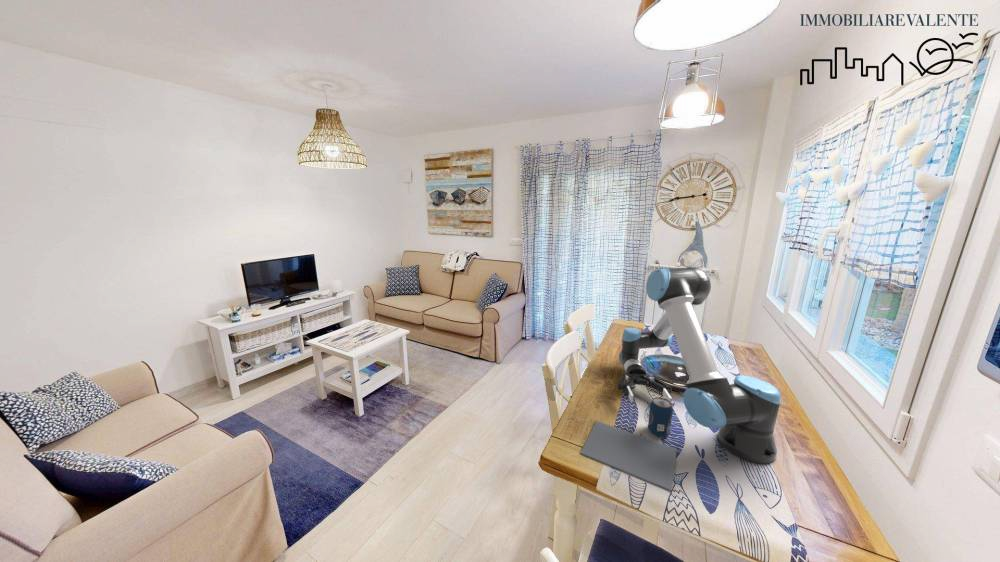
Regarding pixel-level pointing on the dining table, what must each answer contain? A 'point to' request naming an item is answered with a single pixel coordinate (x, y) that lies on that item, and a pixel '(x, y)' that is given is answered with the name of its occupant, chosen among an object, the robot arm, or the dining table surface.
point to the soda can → (660, 417)
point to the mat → (632, 454)
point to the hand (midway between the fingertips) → (651, 400)
